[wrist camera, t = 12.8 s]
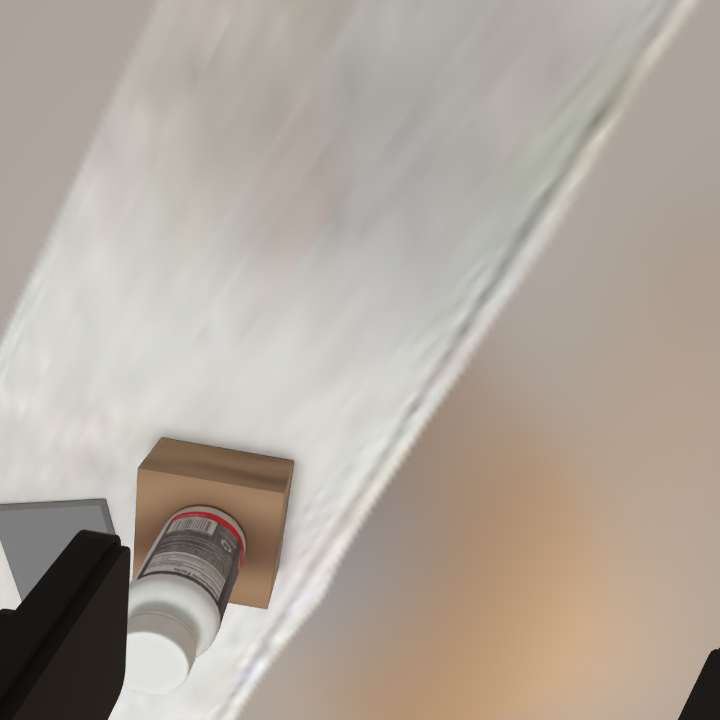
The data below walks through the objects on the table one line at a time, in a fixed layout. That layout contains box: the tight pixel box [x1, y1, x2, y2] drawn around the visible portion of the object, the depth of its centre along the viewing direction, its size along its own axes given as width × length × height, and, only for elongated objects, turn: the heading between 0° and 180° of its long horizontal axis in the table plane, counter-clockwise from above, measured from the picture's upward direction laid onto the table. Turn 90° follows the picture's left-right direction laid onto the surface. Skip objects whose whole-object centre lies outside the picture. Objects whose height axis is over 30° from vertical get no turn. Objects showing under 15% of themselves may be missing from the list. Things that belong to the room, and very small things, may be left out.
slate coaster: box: [0, 499, 115, 601], centre depth 44 cm, size 8×8×1 cm
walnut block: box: [133, 438, 294, 609], centre depth 41 cm, size 9×9×4 cm
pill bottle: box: [123, 506, 246, 695], centre depth 34 cm, size 5×5×10 cm
